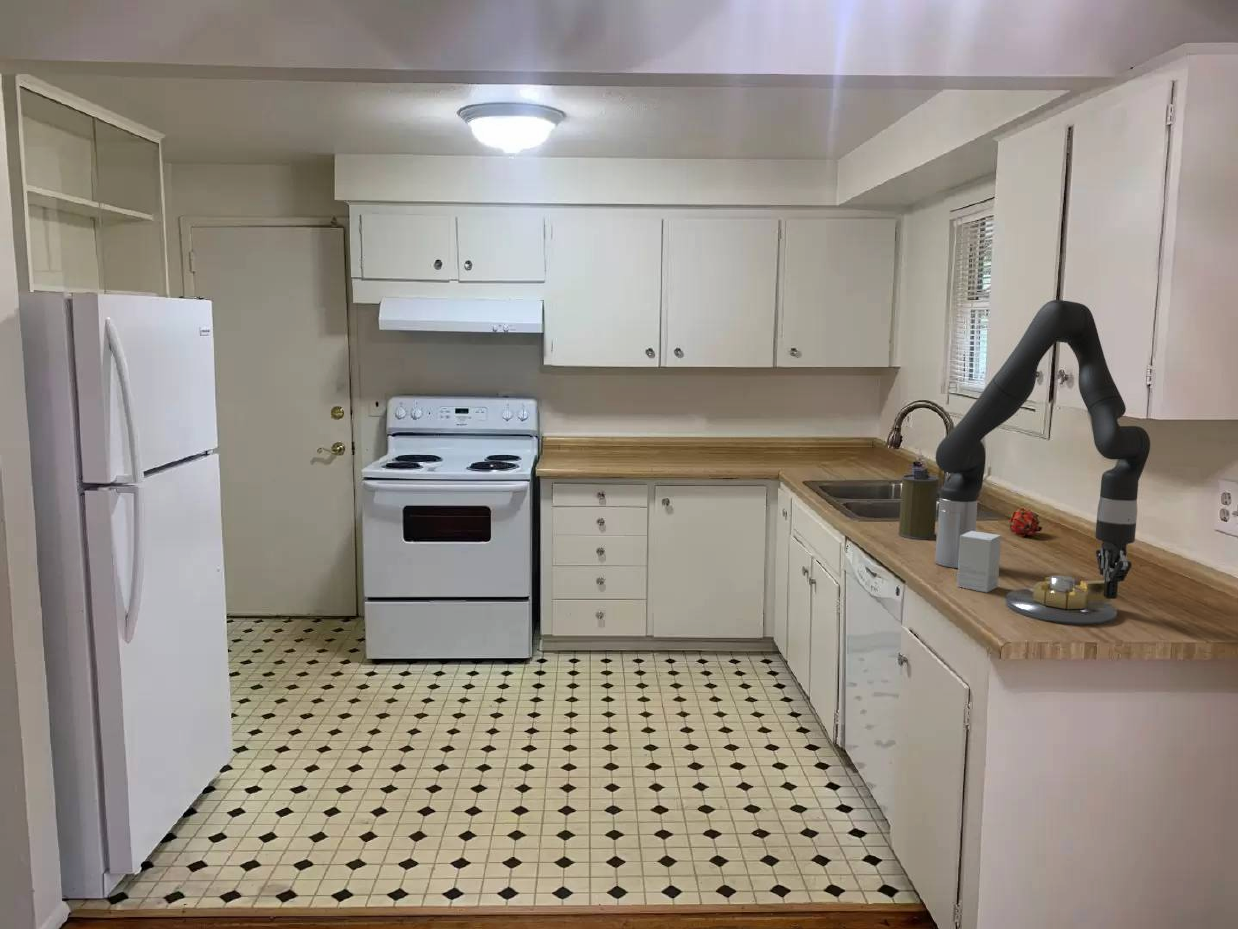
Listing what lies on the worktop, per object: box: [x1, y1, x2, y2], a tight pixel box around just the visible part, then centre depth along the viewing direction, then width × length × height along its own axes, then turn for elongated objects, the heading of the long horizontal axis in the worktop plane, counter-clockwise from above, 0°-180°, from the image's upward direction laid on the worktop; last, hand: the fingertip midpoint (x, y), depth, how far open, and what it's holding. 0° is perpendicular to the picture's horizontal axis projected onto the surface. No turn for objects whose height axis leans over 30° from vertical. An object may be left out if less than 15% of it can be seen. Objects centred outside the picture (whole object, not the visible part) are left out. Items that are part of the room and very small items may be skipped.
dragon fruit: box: [1008, 508, 1043, 538], centre depth 278 cm, size 8×8×12 cm
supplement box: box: [956, 530, 1002, 593], centre depth 221 cm, size 7×7×13 cm
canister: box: [897, 467, 940, 540], centre depth 274 cm, size 11×10×20 cm
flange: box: [1005, 575, 1118, 626], centre depth 204 cm, size 22×22×7 cm
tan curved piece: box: [1032, 576, 1112, 609], centre depth 205 cm, size 16×11×4 cm, turn 99°
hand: (1109, 597), depth 202 cm, fingers closed
